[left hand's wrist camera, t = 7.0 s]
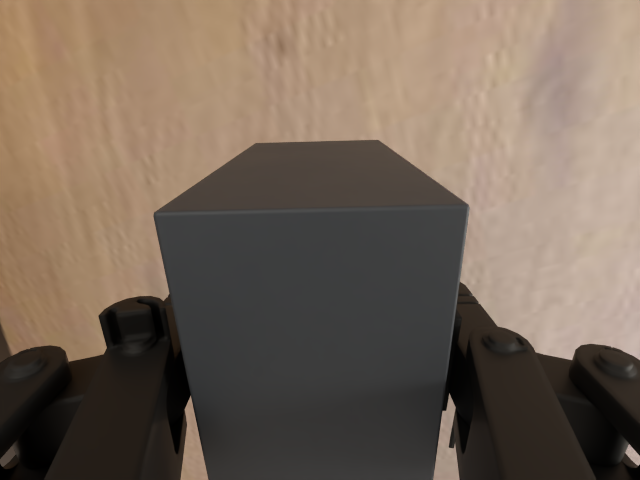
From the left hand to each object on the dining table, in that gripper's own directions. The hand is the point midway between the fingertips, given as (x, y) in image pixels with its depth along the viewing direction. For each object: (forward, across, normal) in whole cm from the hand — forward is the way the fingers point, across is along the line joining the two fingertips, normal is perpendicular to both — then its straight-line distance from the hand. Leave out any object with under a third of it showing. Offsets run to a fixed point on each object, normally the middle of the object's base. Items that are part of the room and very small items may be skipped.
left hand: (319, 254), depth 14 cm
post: (+1, +1, -22) cm, 22 cm away
